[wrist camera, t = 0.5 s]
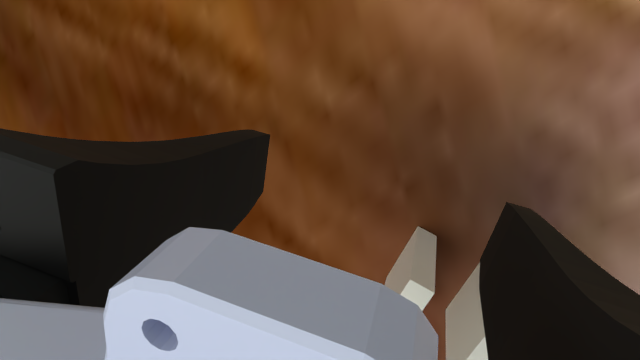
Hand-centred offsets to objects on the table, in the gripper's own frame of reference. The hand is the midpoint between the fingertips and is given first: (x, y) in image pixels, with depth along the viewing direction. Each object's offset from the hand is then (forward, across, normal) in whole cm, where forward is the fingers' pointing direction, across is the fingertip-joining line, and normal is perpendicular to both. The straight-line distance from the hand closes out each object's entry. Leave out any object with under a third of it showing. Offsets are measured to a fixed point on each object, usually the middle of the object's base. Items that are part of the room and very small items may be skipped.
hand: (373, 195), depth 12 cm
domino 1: (+10, -3, +8) cm, 13 cm away
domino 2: (+10, -7, +9) cm, 15 cm away
